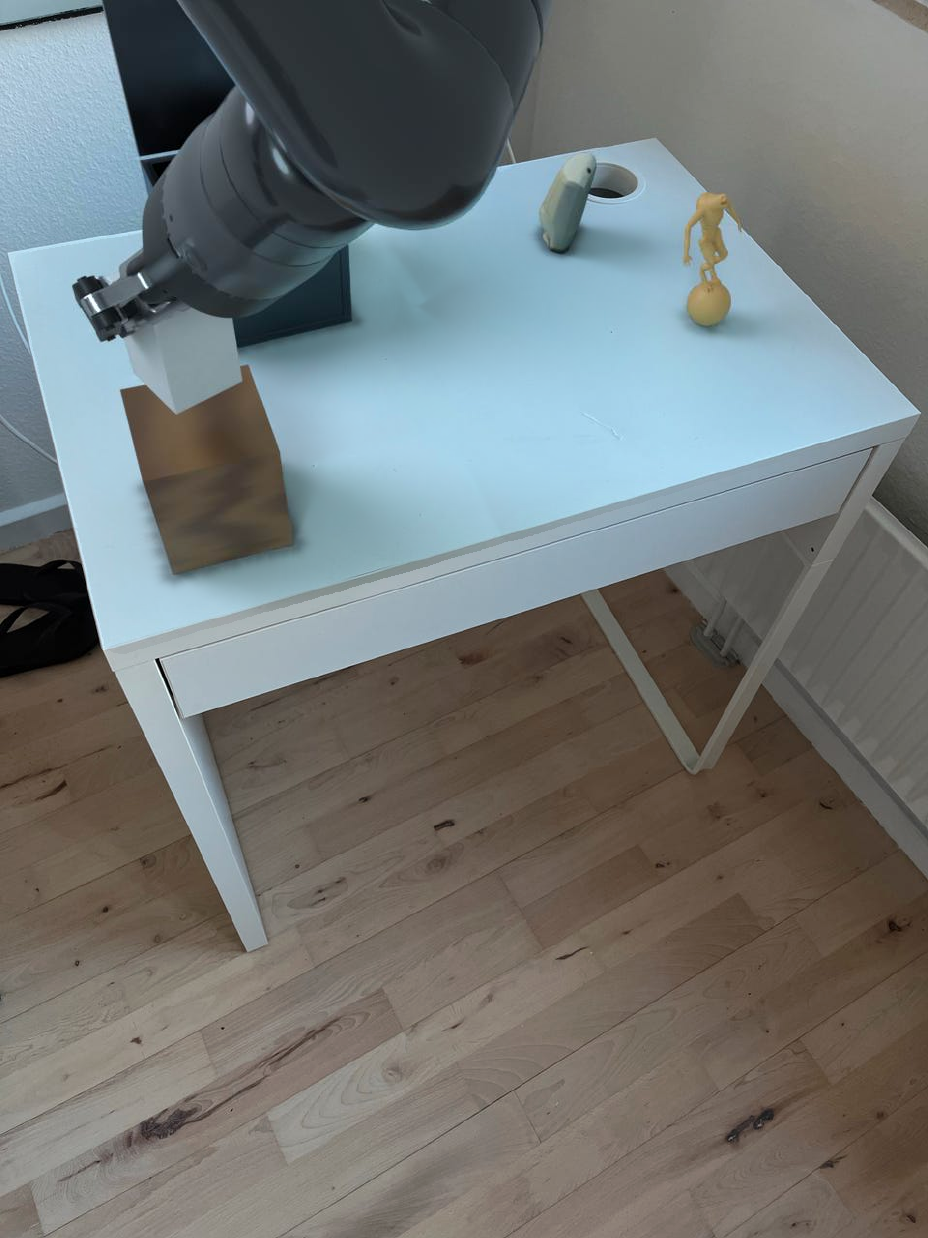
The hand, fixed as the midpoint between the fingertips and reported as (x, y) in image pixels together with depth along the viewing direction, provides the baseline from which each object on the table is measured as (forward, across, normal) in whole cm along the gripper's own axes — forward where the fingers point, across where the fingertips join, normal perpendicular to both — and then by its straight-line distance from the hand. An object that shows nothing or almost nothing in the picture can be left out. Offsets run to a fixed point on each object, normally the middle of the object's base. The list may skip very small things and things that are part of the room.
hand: (157, 302), depth 57 cm
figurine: (+6, -48, +20) cm, 53 cm away
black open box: (+26, -18, 0) cm, 32 cm away
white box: (+2, 0, +5) cm, 5 cm away
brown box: (+12, 0, +14) cm, 19 cm away
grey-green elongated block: (+18, -47, +8) cm, 51 cm away
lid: (+18, -20, -18) cm, 33 cm away
